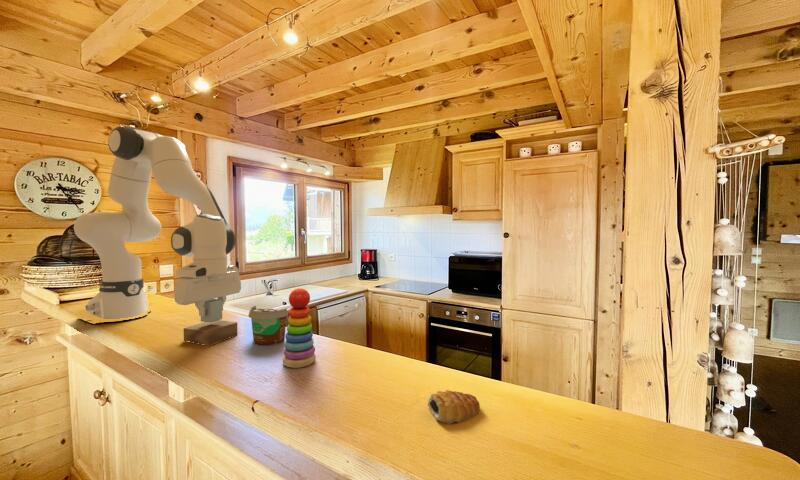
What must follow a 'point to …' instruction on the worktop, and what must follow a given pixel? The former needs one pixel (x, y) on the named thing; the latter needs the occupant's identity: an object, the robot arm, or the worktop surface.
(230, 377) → the worktop surface
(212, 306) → the blue-grey block
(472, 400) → the pastry
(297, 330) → the stacking toy
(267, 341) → the food container
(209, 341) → the walnut base
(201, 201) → the robot arm
